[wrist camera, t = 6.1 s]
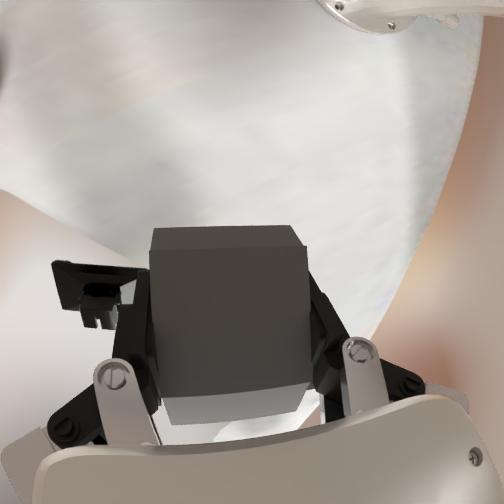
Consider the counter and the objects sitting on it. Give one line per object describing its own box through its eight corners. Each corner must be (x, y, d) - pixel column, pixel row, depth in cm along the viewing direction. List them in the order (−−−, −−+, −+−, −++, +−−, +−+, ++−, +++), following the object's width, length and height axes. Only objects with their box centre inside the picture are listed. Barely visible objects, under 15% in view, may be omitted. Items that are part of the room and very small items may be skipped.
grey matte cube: (290, 222, 11) (345, 306, 7) (269, 332, 14) (296, 413, 10) (153, 224, 10) (139, 322, 6) (168, 340, 13) (172, 428, 9)
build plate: (62, 307, 30) (53, 335, 26) (51, 258, 26) (36, 285, 22) (158, 315, 33) (157, 345, 29) (158, 266, 29) (155, 296, 26)
